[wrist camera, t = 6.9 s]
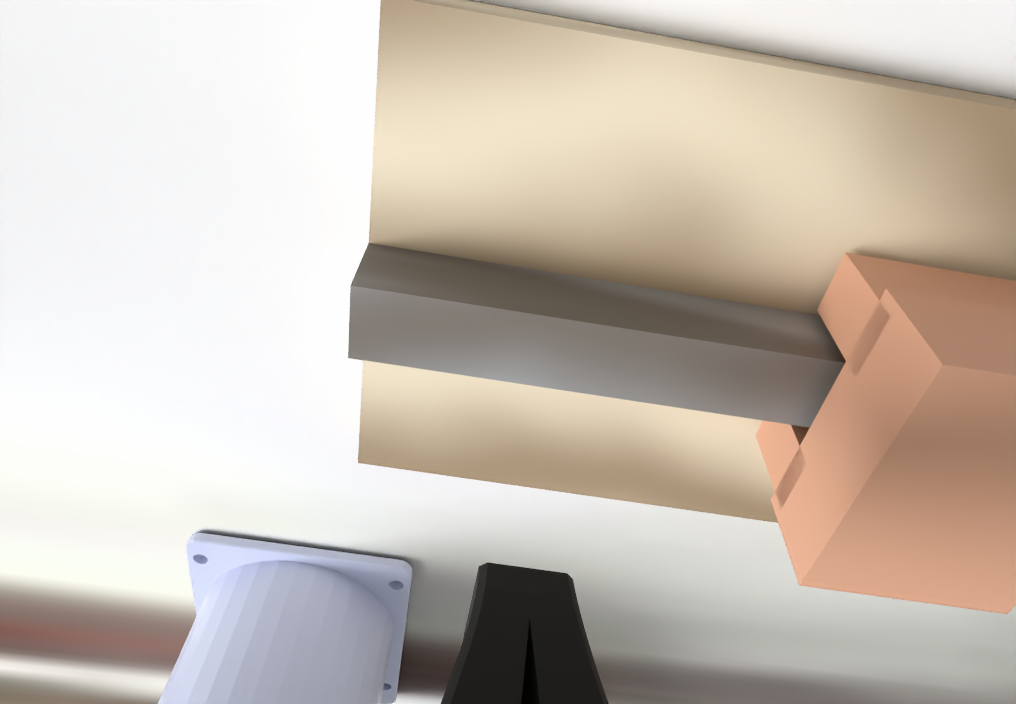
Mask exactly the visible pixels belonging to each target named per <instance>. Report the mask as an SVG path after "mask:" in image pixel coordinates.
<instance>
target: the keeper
mask: <svg viewBox="0 0 1016 704" xmlns="http://www.w3.org/2000/svg"><path fill="white" fill-rule="evenodd" d="M817 311H818V313H819V314H820V316H821V318H822V320H823V321H824V323H825V325H826V327H827V329H828V330H829V332H830V334H831V336H832V337H833V339H834V341H835V343H836V344H837V346H838V348H839V350H840V351H841V353H842V355H843V357H844V359H845V360H846V363H845V364H844V366H843V368H842V370H841V372H840V374H839V375H838V377H837V379H836V381H835V383H834V385H833V386H832V388H831V390H830V392H829V394H828V395H827V397H826V399H825V401H824V403H823V405H822V406H821V408H820V410H819V412H818V414H817V416H816V417H815V419H814V421H813V423H812V425H811V427H810V428H809V427H803V426H796V425H789V424H783V423H776V422H770V421H762V423H761V425H760V427H759V429H758V431H757V433H756V438H757V441H758V444H759V447H760V450H761V453H762V456H763V459H764V461H765V464H766V467H767V470H768V473H769V476H770V479H771V482H772V484H773V487H774V490H775V492H774V494H773V496H772V498H771V502H772V505H773V508H774V511H775V514H776V517H777V520H778V523H779V526H780V529H781V532H782V535H783V538H784V541H785V544H786V547H787V550H788V553H789V556H790V559H791V562H792V565H793V568H794V571H795V574H796V577H797V580H798V583H799V585H800V586H808V587H815V588H822V589H829V590H837V591H844V592H851V593H859V594H866V595H873V596H880V597H888V598H895V599H902V600H909V601H917V602H924V603H931V604H939V605H946V606H953V607H960V608H968V609H975V610H982V611H989V612H997V613H1004V614H1008V613H1009V612H1010V611H1011V610H1012V609H1013V608H1014V606H1015V605H1016V281H1014V280H1007V279H1001V278H995V277H989V276H983V275H977V274H971V273H965V272H959V271H953V270H947V269H941V268H935V267H929V266H923V265H917V264H911V263H905V262H899V261H893V260H887V259H881V258H875V257H869V256H863V255H857V254H851V253H845V254H844V256H843V258H842V260H841V262H840V264H839V266H838V268H837V270H836V273H835V275H834V277H833V279H832V281H831V283H830V285H829V287H828V289H827V291H826V293H825V295H824V297H823V299H822V301H821V303H820V305H819V307H818V309H817Z"/></svg>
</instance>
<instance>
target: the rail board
mask: <svg viewBox="0 0 1016 704" xmlns="http://www.w3.org/2000/svg"><path fill="white" fill-rule="evenodd" d="M845 253H851V254H857V255H863V256H869V257H875V258H881V259H887V260H893V261H899V262H905V263H911V264H917V265H923V266H929V267H935V268H941V269H947V270H953V271H959V272H965V273H971V274H977V275H983V276H989V277H995V278H1001V279H1007V280H1014V281H1016V100H1014V99H1009V98H1003V97H998V96H992V95H987V94H981V93H976V92H970V91H965V90H959V89H954V88H948V87H943V86H937V85H932V84H926V83H921V82H915V81H910V80H904V79H899V78H893V77H888V76H882V75H877V74H871V73H866V72H860V71H855V70H849V69H844V68H838V67H833V66H827V65H822V64H816V63H811V62H805V61H800V60H794V59H789V58H783V57H778V56H772V55H767V54H761V53H756V52H750V51H745V50H739V49H734V48H728V47H723V46H717V45H712V44H706V43H700V42H695V41H689V40H684V39H678V38H673V37H667V36H662V35H656V34H651V33H645V32H640V31H634V30H629V29H623V28H618V27H612V26H607V25H601V24H596V23H590V22H585V21H579V20H574V19H568V18H563V17H557V16H552V15H546V14H541V13H535V12H530V11H524V10H519V9H513V8H508V7H502V6H497V5H491V4H486V3H480V2H475V1H469V0H381V8H380V29H379V49H378V69H377V89H376V110H375V130H374V150H373V171H372V191H371V211H370V231H369V244H368V246H367V249H366V251H365V253H364V256H363V258H362V260H361V263H360V265H359V267H358V270H357V272H356V274H355V277H354V279H353V281H352V284H351V293H350V322H349V352H348V358H352V359H359V360H363V373H362V394H361V414H360V434H359V455H358V463H363V464H370V465H377V466H384V467H391V468H398V469H405V470H412V471H419V472H426V473H433V474H440V475H447V476H454V477H461V478H468V479H475V480H482V481H489V482H496V483H503V484H510V485H517V486H524V487H531V488H538V489H545V490H552V491H559V492H566V493H573V494H580V495H588V496H595V497H602V498H609V499H616V500H623V501H630V502H637V503H644V504H651V505H658V506H665V507H672V508H679V509H686V510H693V511H700V512H707V513H714V514H721V515H728V516H735V517H742V518H749V519H756V520H763V521H770V522H777V523H778V520H777V517H776V514H775V511H774V508H773V505H772V502H771V498H772V496H773V494H774V492H775V490H774V487H773V484H772V482H771V479H770V476H769V473H768V470H767V467H766V464H765V461H764V459H763V456H762V453H761V450H760V447H759V444H758V441H757V438H756V433H757V431H758V429H759V427H760V425H761V423H762V421H770V422H776V423H783V424H789V425H796V426H803V427H809V428H810V427H811V425H812V423H813V421H814V419H815V417H816V416H817V414H818V412H819V410H820V408H821V406H822V405H823V403H824V401H825V399H826V397H827V395H828V394H829V392H830V390H831V388H832V386H833V385H834V383H835V381H836V379H837V377H838V375H839V374H840V372H841V370H842V368H843V366H844V364H845V363H846V360H845V359H844V357H843V355H842V353H841V351H840V350H839V348H838V346H837V344H836V343H835V341H834V339H833V337H832V336H831V334H830V332H829V330H828V329H827V327H826V325H825V323H824V321H823V320H822V318H821V316H820V314H819V313H818V311H817V309H818V307H819V305H820V303H821V301H822V299H823V297H824V295H825V293H826V291H827V289H828V287H829V285H830V283H831V281H832V279H833V277H834V275H835V273H836V270H837V268H838V266H839V264H840V262H841V260H842V258H843V256H844V254H845Z"/></svg>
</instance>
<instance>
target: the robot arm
mask: <svg viewBox="0 0 1016 704" xmlns="http://www.w3.org/2000/svg"><path fill="white" fill-rule="evenodd" d="M185 548H186V554H187V560H188V566H189V572H190V578H191V584H192V590H193V596H194V602H195V608H196V614H197V617H196V619H195V621H194V624H193V626H192V628H191V630H190V633H189V635H188V637H187V639H186V642H185V644H184V646H183V648H182V651H181V653H180V655H179V657H178V660H177V662H176V664H175V666H174V669H173V671H172V673H171V675H170V678H169V680H168V682H167V684H166V687H165V689H164V691H163V693H162V696H161V698H160V700H159V702H158V704H391V703H393V702H395V700H396V695H397V689H398V681H399V673H400V665H401V657H402V650H403V642H404V634H405V626H406V618H407V610H408V603H409V595H410V587H411V579H412V571H413V570H412V567H411V565H410V564H409V563H407V562H406V561H403V560H398V559H391V558H384V557H376V556H369V555H361V554H354V553H347V552H339V551H332V550H324V549H317V548H310V547H302V546H295V545H287V544H280V543H273V542H265V541H258V540H250V539H243V538H236V537H228V536H221V535H213V534H206V533H195V534H192V535H191V536H190V537H189V539H188V541H187V543H186V547H185ZM441 704H609V703H608V701H607V698H606V695H605V692H604V690H603V687H602V684H601V681H600V678H599V675H598V672H597V669H596V665H595V662H594V659H593V656H592V652H591V649H590V646H589V643H588V639H587V636H586V632H585V629H584V625H583V622H582V618H581V614H580V610H579V606H578V602H577V598H576V593H575V589H574V584H573V579H572V578H571V577H570V576H569V575H568V574H567V573H560V572H552V571H545V570H538V569H530V568H523V567H516V566H508V565H501V564H494V563H486V564H483V565H481V566H479V569H478V573H477V578H476V582H475V587H474V592H473V596H472V601H471V605H470V610H469V615H468V619H467V624H466V628H465V633H464V639H463V643H462V647H461V650H460V653H459V656H458V658H457V661H456V664H455V667H454V669H453V672H452V675H451V678H450V680H449V683H448V686H447V688H446V691H445V694H444V697H443V699H442V702H441Z"/></svg>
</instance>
